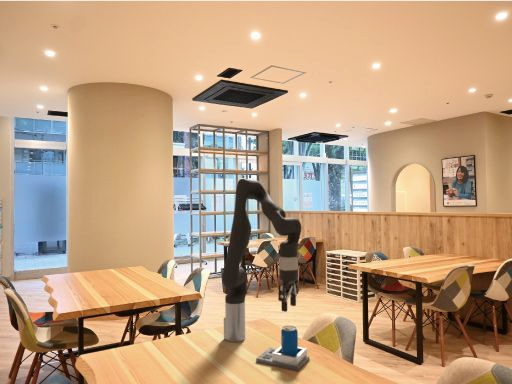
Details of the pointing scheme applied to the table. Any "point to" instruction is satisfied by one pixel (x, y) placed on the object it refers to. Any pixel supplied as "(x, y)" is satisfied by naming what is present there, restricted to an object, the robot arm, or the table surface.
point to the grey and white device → (284, 358)
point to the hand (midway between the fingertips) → (288, 308)
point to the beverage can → (289, 340)
